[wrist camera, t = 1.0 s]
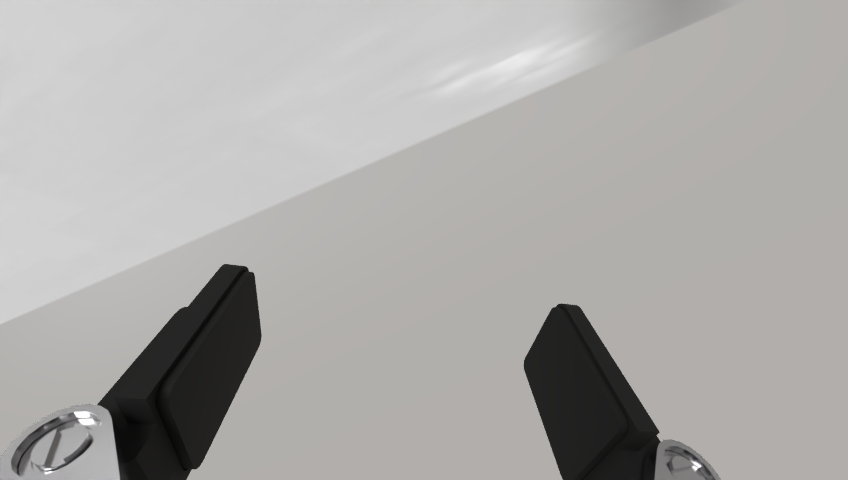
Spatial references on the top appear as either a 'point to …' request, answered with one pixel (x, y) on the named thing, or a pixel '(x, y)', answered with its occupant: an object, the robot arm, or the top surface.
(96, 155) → the top surface
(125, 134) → the top surface
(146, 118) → the top surface
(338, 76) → the top surface
